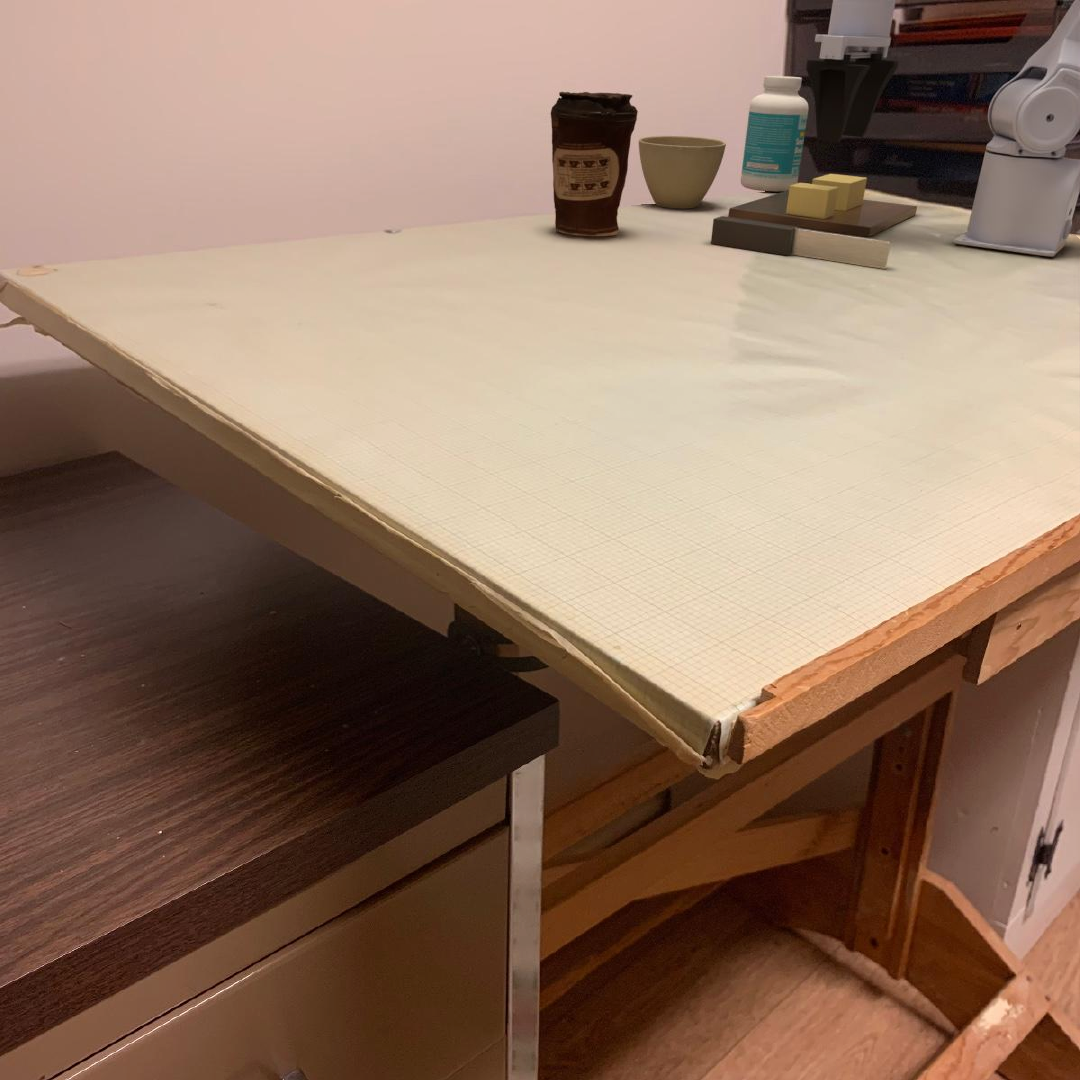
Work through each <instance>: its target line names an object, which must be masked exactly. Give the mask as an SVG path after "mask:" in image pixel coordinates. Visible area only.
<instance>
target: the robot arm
mask: <svg viewBox="0 0 1080 1080" xmlns="http://www.w3.org/2000/svg"><path fill="white" fill-rule="evenodd" d="M896 1H897V0H832V4H831V10H830V11H831V12H830V19H829V25H828V31H827V34H818V33H817V34H815V37H814V42H815V43H821V45H820V51H819V59H818V58H817V59H816V58H808V59H807V60H806V65H805V67H806V68H805V69H806V72H807V75H808V77H809V81H810V84H811V87H812V93H813V100H814V111H815V127H816V140H817V141H818V142H824V143H825V142H827V143H837V144H838V143H840V142H841V140H842V139H843V136H847V137H848V136H849V137H858V138H864V137H865V135H866V133H867V131H868V128H869V126H870V124H871V121H872V118H873V115H874V114H875V113H874V112H875V110H876V107H877V105H878V103H879V100H880V98H881V96H882V94H883V92H884V90H885V88H886V86H887V84H888V83H889V81H890V80H891V78H892V77H893V75H894V73H896V71H897V69H898V67H899V62H900V61H899V60H893V59H892V60H890V59H887V57H888V52H889V48H890V46H891V40H892V37H890V35H891V29H892V24H893V17H894V12H895V7H896ZM849 51H850V52H849ZM851 59H855V60H851ZM987 122H988V123H987V124H988V126H989V129H990V131H991V133H992V134H993V137H992V139H991V140H990V141H989V142H988V143H987V144H986V147H985V149H986V150H985V151H984V156H983V160H982V165H981V168H980V173H979V177H978V182H977V186H976V191H975V195H974V199H973V204H972V208H971V212H970V216H969V221H968V225H967V230H966V231H965V232H964V233H962V234H961V235H959V236H957V237H956V238H954V240H953V244H956V245H963V246H969V247H975V248H984V249H991V250H992V249H993V250H998V251H1005V252H1014V253H1020V254H1028V255H1034V256H1043V257H1055V256H1056V255H1057V254H1058V253H1059V252H1060V251H1061V250H1062V249H1063V248H1064V247H1065V246H1066V245H1067V239H1068V238H1069V236H1070V233H1071V229H1072V226H1073V216H1074V213H1075V210H1076V206H1077V202H1078V200H1079V195H1080V159H1079V158H1069V157H1065V155H1066V151H1067V148H1066V146H1067V144H1068V143H1070V142H1071V141H1072V140H1073V139H1074V138H1075V137H1076V135H1077V134H1078V133H1079V131H1080V0H1074V1H1073V2H1072V4H1071V5H1070V7H1069V8H1068V10H1067V12H1065V15H1064V16H1063V18H1062V20H1061V21H1060V22H1059V24H1058V25H1057V27H1056V29H1055V30H1054V32H1053V33H1052V35H1051V37H1050V38H1049V39H1048V40H1047V41H1046V42H1045V43H1044V44H1043V45H1042V46H1041V47H1040V48H1039V49H1037V51H1035V52H1034V53H1033V54H1032V55H1031V56H1030V57H1029V58H1028V59H1027V61H1026V63H1025V64H1024V65H1023V67H1022V69H1021V70H1020V71H1019V72H1018V73H1017V74H1016V75H1015V76H1014V77H1013V78H1012V79H1010V80H1009V81H1007V82H1006V83H1004V84H1003V85H1002V86H1001V87H1000V88H999V89H998V90H997V91H996V92H995V94H994V95H993V97H992V99H991V100H990V104H989V107H988V111H987Z"/></svg>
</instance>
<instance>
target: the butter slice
mask: <svg viewBox="0 0 1080 1080" xmlns="http://www.w3.org/2000/svg"><path fill="white" fill-rule="evenodd" d="M837 191H838V187H833V186H824V185H816V184H812V183H808V182H807V183H805V182H797V184H794V185H791V186H790V189H789V196H788V203H787V209H786V214H789V215H797V216H804V217H811V218H819V219H826V218H828V217H831V216H833V215H834V209H835V203H836V197H837Z"/></svg>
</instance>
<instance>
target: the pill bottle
mask: <svg viewBox="0 0 1080 1080" xmlns="http://www.w3.org/2000/svg"><path fill="white" fill-rule="evenodd" d="M802 80H803V77H798V76H787V75H786V76H785V75H764V76H763V84H762V86H763V88H764V89H763V90H764V91H763V92H762V93H761V94H758V95H756V96H755V97H753V98H752V99H751V101H750V103H749V109H748V115H747V117H748V118H747V125H746V133H745V142H744V148H743V149H744V150H743V156H742V166H741V174H740V184H741V186H742V187H744V188H746V189H748V190H753V191H761V192H773V193H774V192H776V193H777V192H778V193H781V192H785V191H788V190H789V189H790V186H791V185H794V184H797V183H799V182H798V181H799V175H800V167H801V161H802V157H803V156H802V155H803V149H804V143H805V142H804V141H805V135H806V129H807V123H808V122H807V121H808V116H809V109H810V108H809V103H808V101H807V100H806V99H805V98H804V97H802V96H800V95H799V91H800V90H801V88H802Z"/></svg>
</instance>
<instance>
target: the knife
mask: <svg viewBox="0 0 1080 1080" xmlns="http://www.w3.org/2000/svg"><path fill="white" fill-rule="evenodd" d="M710 237H711V238H710V245H716V246H723V247H728V248H729V247H730V248H735V249H743V250H748V251H754V252H761V253H768V254H774V255H781V256H785V257H786V256H787V257H788V256H790V255H792V256H798V257H805V258H812V259H817V260H824V261H831V262H837V263H843V264H849V265H850V264H851V265H856V266H862V267H868V268H876V269H881V270H882V269H883V270H886V268H887V265H888V261H889V255H890V250H891V246H892V241H890V240H884V239H883V240H882V239H876V238H875V239H874V238H870V237H863V236H856V235H849V234H842V233H835V232H828V231H821V230H814V229H807V228H800V227H796V226H789V225H782V224H774V223H767V222H760V221H753V220H746V219H739V218H732V217H728V216H724V215H722V216H718V217H714V218H713V220H712V228H711V236H710Z"/></svg>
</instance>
